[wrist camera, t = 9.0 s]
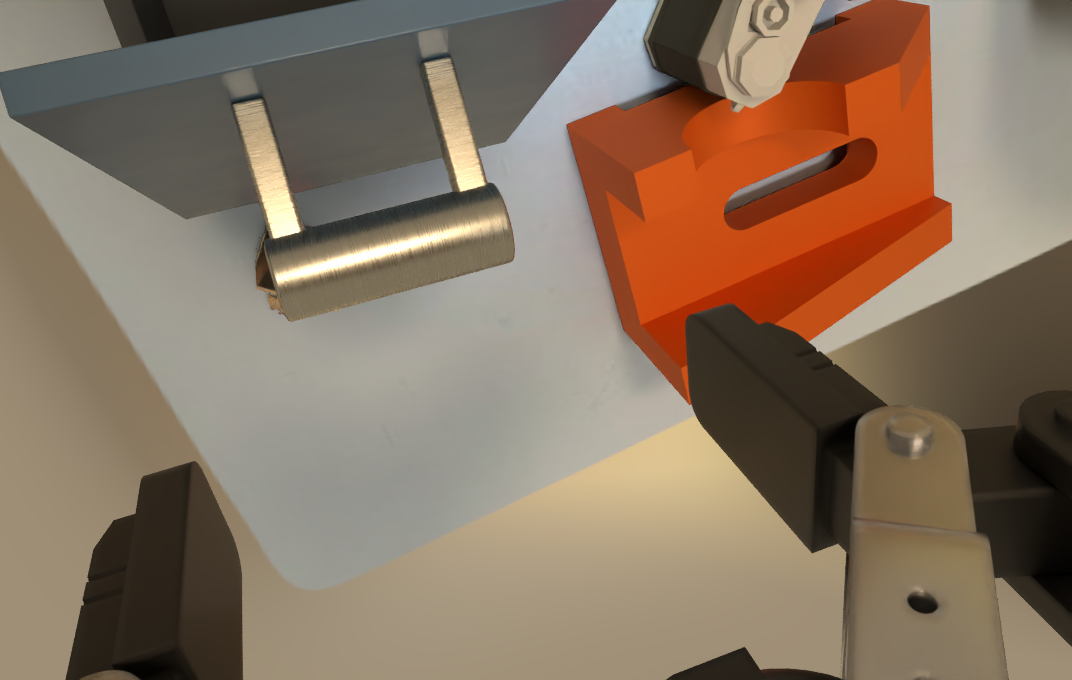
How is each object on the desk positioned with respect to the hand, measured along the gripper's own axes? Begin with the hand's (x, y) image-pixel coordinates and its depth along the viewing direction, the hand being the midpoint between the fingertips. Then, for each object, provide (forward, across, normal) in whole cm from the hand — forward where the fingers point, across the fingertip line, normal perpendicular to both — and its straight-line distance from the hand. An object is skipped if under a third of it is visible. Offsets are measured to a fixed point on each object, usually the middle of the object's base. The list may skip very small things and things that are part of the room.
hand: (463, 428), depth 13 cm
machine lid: (+12, 0, -3) cm, 13 cm away
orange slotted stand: (+28, -21, +9) cm, 36 cm away
